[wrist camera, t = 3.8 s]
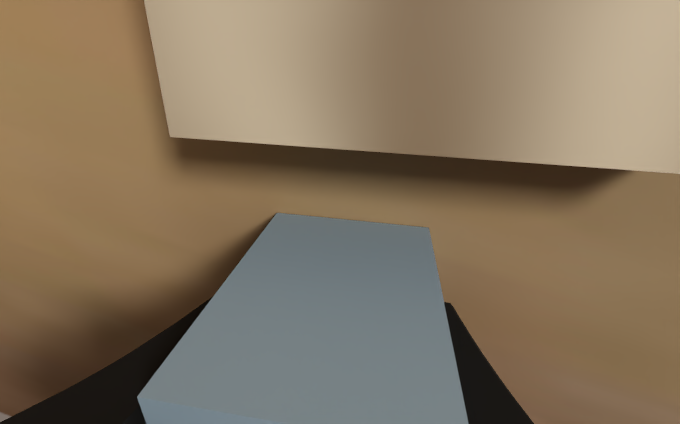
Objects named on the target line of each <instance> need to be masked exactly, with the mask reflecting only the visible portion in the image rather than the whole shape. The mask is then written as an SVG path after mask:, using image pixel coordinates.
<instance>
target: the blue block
mask: <svg viewBox="0 0 680 424" xmlns="http://www.w3.org/2000/svg"><path fill="white" fill-rule="evenodd" d="M137 399H138V402H139V404H140V407H141V410H142V413H143V416H144V419H145V421H146V424H469V423H468V418H467V413H466V409H465V404H464V399H463V394H462V389H461V384H460V379H459V374H458V369H457V364H456V359H455V354H454V349H453V344H452V340H451V335H450V330H449V325H448V320H447V315H446V310H445V305H444V300H443V295H442V290H441V285H440V280H439V275H438V271H437V266H436V261H435V256H434V251H433V246H432V241H431V236H430V231H429V228H426V227H416V226H406V225H396V224H385V223H375V222H365V221H355V220H345V219H334V218H324V217H314V216H304V215H294V214H283V213H276V215H275V216H274V217H273V219H272V220H271V221H270V223H269V224H268V225H267V226H266V228H265V229H264V230H263V232H262V233H261V234H260V236H259V237H258V238H257V240H256V241H255V242H254V244H253V245H252V246H251V248H250V249H249V250H248V251H247V253H246V254H245V255H244V257H243V258H242V259H241V261H240V262H239V263H238V265H237V266H236V267H235V269H234V270H233V271H232V273H231V274H230V275H229V276H228V278H227V279H226V280H225V282H224V283H223V284H222V286H221V287H220V288H219V290H218V291H217V292H216V294H215V295H214V296H213V298H212V299H211V300H210V301H209V303H208V304H207V305H206V307H205V308H204V309H203V311H202V312H201V313H200V315H199V316H198V317H197V319H196V320H195V321H194V323H193V324H192V325H191V326H190V328H189V329H188V330H187V332H186V333H185V334H184V336H183V337H182V338H181V340H180V341H179V342H178V344H177V345H176V346H175V348H174V349H173V350H172V351H171V353H170V354H169V355H168V357H167V358H166V359H165V361H164V362H163V363H162V365H161V366H160V367H159V369H158V370H157V371H156V373H155V374H154V375H153V376H152V378H151V379H150V380H149V382H148V383H147V384H146V386H145V387H144V388H143V390H142V391H141V392H140V394H139V395H138V396H137Z"/></svg>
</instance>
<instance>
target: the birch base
mask: <svg viewBox="0 0 680 424" xmlns="http://www.w3.org/2000/svg"><path fill="white" fill-rule="evenodd" d="M144 3H145V8H146V13H147V19H148V24H149V29H150V34H151V40H152V45H153V50H154V56H155V61H156V66H157V71H158V77H159V82H160V87H161V92H162V98H163V103H164V108H165V113H166V119H167V124H168V129H169V134H170V137H177V138H191V139H205V140H219V141H233V142H246V143H260V144H274V145H288V146H302V147H316V148H330V149H344V150H357V151H371V152H385V153H399V154H413V155H427V156H441V157H455V158H468V159H482V160H496V161H510V162H524V163H538V164H552V165H566V166H579V167H593V168H607V169H621V170H635V171H649V172H663V173H677V174H680V0H144Z"/></svg>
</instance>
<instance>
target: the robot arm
mask: <svg viewBox="0 0 680 424" xmlns="http://www.w3.org/2000/svg"><path fill="white" fill-rule="evenodd" d="M212 298H213V297H211V298H210V299H209V300H207V301H206V302H205V303H203V304H202V305H200V306H199V307H198V308H196V309H195V310H193V311H192V312H191V313H189V314H188V315H186V316H185V317H184V318H182V319H181V320H179V321H178V322H176V323H175V324H174V325H172V326H171V327H169V328H167V329H166V330H164V331H163V332H161V333H160V334H158V335H157V336H155V337H154V338H152V339H151V340H149V341H148V342H146V343H144V344H143V345H141V346H140V347H138V348H137V349H135V350H134V351H132V352H131V353H129V354H127V355H126V356H124V357H122V358H121V359H119V360H117V361H116V362H114V363H112V364H111V365H109V366H107V367H105V368H104V369H102V370H100V371H98V372H97V373H95V374H93V375H91V376H89V377H88V378H86V379H84V380H82V381H81V382H79V383H77V384H75V385H73V386H71V387H70V388H68V389H66V390H64V391H62V392H60V393H58V394H56V395H54V396H52V397H50V398H48V399H46V400H44V401H42V402H40V403H38V404H36V405H34V406H32V407H30V408H28V409H26V410H24V411H22V412H20V413H18V414H16V415H14V416H12V417H10V418H8V419H6V420H4V421H2V422H0V424H146V421H145V419H144V416H143V413H142V410H141V407H140V404H139V402H138V399H137V396H138V395H139V394H140V392H141V391H142V390H143V388H144V387H145V386H146V384H147V383H148V382H149V380H150V379H151V378H152V376H153V375H154V374H155V373H156V371H157V370H158V369H159V367H160V366H161V365H162V363H163V362H164V361H165V359H166V358H167V357H168V355H169V354H170V353H171V351H172V350H173V349H174V348H175V346H176V345H177V344H178V342H179V341H180V340H181V338H182V337H183V336H184V334H185V333H186V332H187V330H188V329H189V328H190V326H191V325H192V324H193V323H194V321H195V320H196V319H197V317H198V316H199V315H200V313H201V312H202V311H203V309H204V308H205V307H206V305H207V304H208V303H209V301H210V300H211V299H212ZM444 305H445V310H446V315H447V320H448V325H449V330H450V335H451V340H452V344H453V349H454V354H455V359H456V364H457V369H458V374H459V379H460V384H461V389H462V394H463V399H464V404H465V409H466V413H467V418H468V423H469V424H534V423H533V422H532V420H531V419H530V418H529V417H528V415H527V414H526V413H525V411H524V410H523V409H522V407H521V406H520V405H519V404H518V402H517V401H516V400H515V398H514V397H513V396H512V394H511V393H510V392H509V390H508V389H507V388H506V386H505V385H504V383H503V382H502V381H501V379H500V378H499V376H498V375H497V374H496V372H495V371H494V369H493V368H492V366H491V365H490V364H489V362H488V361H487V359H486V358H485V356H484V355H483V353H482V352H481V350H480V349H479V347H478V346H477V344H476V343H475V341H474V340H473V338H472V337H471V335H470V334H469V332H468V330H467V329H466V327H465V326H464V324H463V322H462V321H461V319H460V317H459V316H458V314H457V312H456V311H455V309H454V307H453V306H452V305H451V304H450V303H446V302H444Z"/></svg>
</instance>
